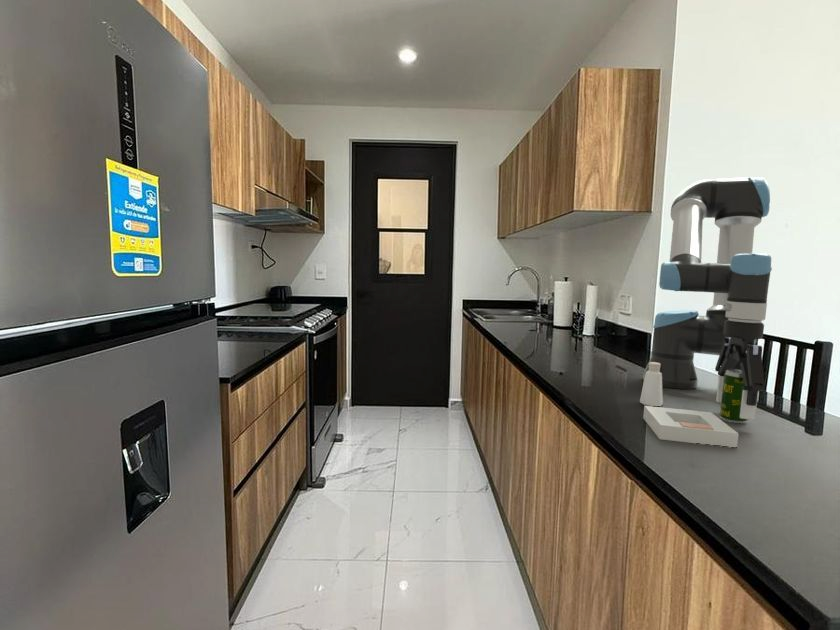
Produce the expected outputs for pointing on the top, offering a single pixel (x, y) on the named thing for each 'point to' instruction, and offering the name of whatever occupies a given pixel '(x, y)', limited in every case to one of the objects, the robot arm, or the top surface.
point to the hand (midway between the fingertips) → (734, 410)
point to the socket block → (689, 426)
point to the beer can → (732, 396)
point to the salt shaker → (652, 386)
